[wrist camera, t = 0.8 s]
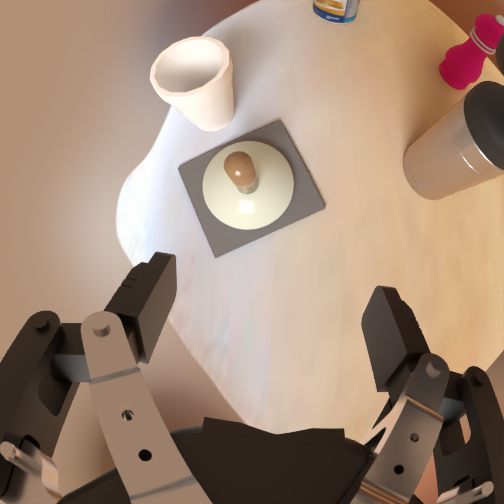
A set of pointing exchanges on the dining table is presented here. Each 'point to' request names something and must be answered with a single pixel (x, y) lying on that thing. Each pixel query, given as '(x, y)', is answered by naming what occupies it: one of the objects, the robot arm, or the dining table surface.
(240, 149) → the lid
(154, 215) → the dining table surface
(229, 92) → the foam cup
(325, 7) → the beverage bottle
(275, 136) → the mat
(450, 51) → the pepper mill
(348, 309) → the dining table surface
